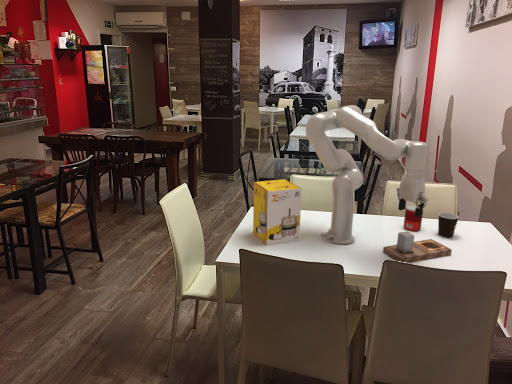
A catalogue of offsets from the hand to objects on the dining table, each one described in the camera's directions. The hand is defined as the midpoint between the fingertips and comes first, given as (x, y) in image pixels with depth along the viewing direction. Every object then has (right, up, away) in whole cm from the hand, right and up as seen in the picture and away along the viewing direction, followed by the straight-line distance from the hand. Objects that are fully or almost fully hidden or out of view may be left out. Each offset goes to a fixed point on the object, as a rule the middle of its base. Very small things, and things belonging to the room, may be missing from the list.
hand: (409, 213), depth 171 cm
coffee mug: (+29, -12, +29) cm, 43 cm away
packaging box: (-54, -12, +24) cm, 60 cm away
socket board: (+6, -18, +8) cm, 20 cm away
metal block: (0, -18, +6) cm, 19 cm away
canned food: (+14, -10, +36) cm, 40 cm away
